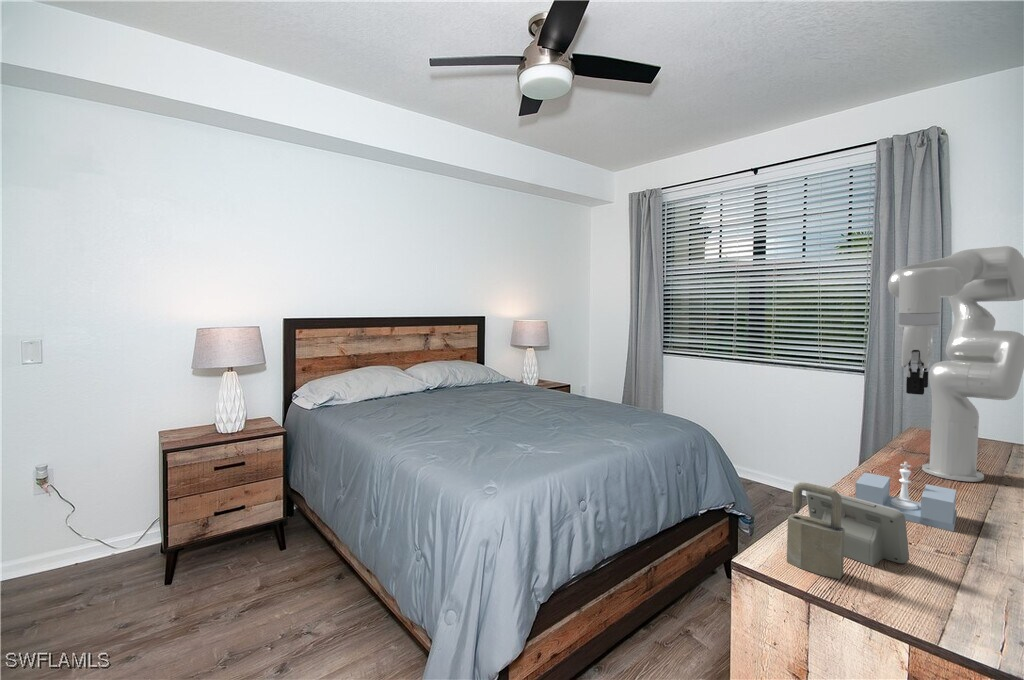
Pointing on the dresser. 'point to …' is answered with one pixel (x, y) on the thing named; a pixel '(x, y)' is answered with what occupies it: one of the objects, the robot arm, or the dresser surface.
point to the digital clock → (865, 528)
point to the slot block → (931, 509)
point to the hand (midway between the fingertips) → (917, 390)
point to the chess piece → (904, 491)
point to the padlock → (816, 535)
